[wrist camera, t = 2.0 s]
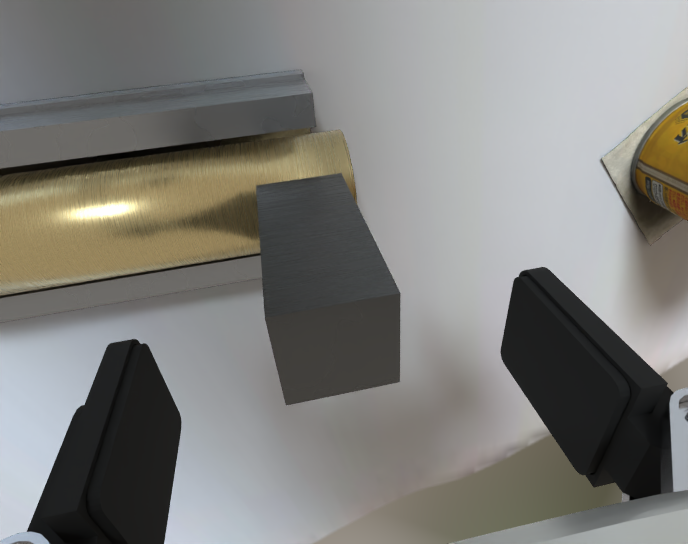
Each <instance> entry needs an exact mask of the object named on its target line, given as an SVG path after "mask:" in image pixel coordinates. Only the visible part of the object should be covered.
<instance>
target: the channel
mask: <svg viewBox="0 0 688 544" xmlns="http://www.w3.org/2000/svg"><path fill="white" fill-rule="evenodd" d="M310 127H316V122H315V113H314V104H313V95H312V92H311V90H310V88H309V86H308V85H307V83H306V81H305V79H304V73H303V72H302V70H293V71H285V72H276V73H268V74H259V75H250V76H242V77H233V78H225V79H216V80H207V81H199V82H190V83H182V84H173V85H165V86H156V87H147V88H139V89H130V90H122V91H113V92H104V93H96V94H87V95H79V96H70V97H61V98H53V99H44V100H36V101H27V102H18V103H10V104H1V105H0V175H6V174H13V173H20V172H28V171H35V170H43V169H50V168H58V167H65V166H73V165H80V164H88V163H95V162H103V161H110V160H118V159H125V158H132V157H140V156H147V155H155V154H162V153H170V152H177V151H185V150H192V149H200V148H207V147H215V146H222V145H230V144H237V143H244V142H252V141H259V140H267V139H274V138H282V137H289V136H297V135H304V134H311V133H310ZM259 278H262V267H261V253H256V254H250V255H244V256H238V257H232V258H226V259H220V260H214V261H208V262H202V263H195V264H189V265H183V266H177V267H171V268H165V269H159V270H153V271H147V272H141V273H135V274H128V275H122V276H116V277H110V278H104V279H98V280H92V281H86V282H80V283H74V284H67V285H61V286H55V287H49V288H43V289H37V290H31V291H25V292H19V293H13V294H7V295H0V323H2V322H8V321H14V320H19V319H25V318H31V317H37V316H43V315H49V314H55V313H60V312H66V311H72V310H78V309H84V308H90V307H96V306H101V305H107V304H113V303H119V302H125V301H131V300H137V299H142V298H148V297H154V296H160V295H166V294H172V293H177V292H183V291H189V290H195V289H201V288H207V287H213V286H218V285H224V284H230V283H236V282H242V281H248V280H254V279H259Z"/></svg>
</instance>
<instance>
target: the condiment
mask: <svg viewBox="0 0 688 544" xmlns="http://www.w3.org/2000/svg"><path fill="white" fill-rule="evenodd" d="M602 160H603V162H604V164H605V166H606V168H607V169H608V171H609V173H610V175H611V177H612V179H613V181H614V183H615V184H616V186H617V189H618V190H619V192H620V194H621V195H622V197H623V199H624V201H625V203H626V204H627V206H628V208H629V209H630V211H631V212H632V214H633V215H634V218H635V220H636V222H637V224H638V226H639V228H640V229H641V231H642V232H643V234H644V235H645V237H646V239H647V241H648V243H649V245H650V246H651V245H652V244H653V243H654V242H655V241H657V240H658V239H660V238H661V236H662V235H663V234H664V233H666V232H667V231H669V230H670V229H671V228H672V227H674V226H675V225H676V224H678V223H679V222H680V221H682V220H683V219H685V220H687V221H688V87H687V88H685V89H684V90H683V91H682V92H681V93H680V94H678V95H677V96H676V97H674V98H673V99H672V100H670V101H669V102H668V103H667V104H666V105H664V106H663V107H662V108H661V109H660V110H659V111H658V112H656V113H655V114H654V115H652V116H651V118H649V119H648V120H646V121H645V122H644V123H643V124H642V125H641V126H639V127H638V128H637V129H636V130H635V131H634V132H633V133H631V134H630V135H629V137H628V138H627V139H625V140H624V141H623V142H621V143H620V144H619V145H618V146H617V147H616V148H614V149H613V150H612V151H611V152H609V153H608V154H607V155H605V156H604V157H603V158H602ZM650 200H651V202H650Z"/></svg>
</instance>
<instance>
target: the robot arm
mask: <svg viewBox="0 0 688 544" xmlns="http://www.w3.org/2000/svg"><path fill="white" fill-rule="evenodd" d="M501 357H502V360H503V362H504V364H505V366H506V367H507V369H508V370H509V372H510V373H511V375H512V376H513V378H514V379H515V381H516V382H517V383H518V385H519V386H520V388H521V389H522V391H523V392H524V394H525V395H526V397H527V398H528V400H529V401H530V403H531V404H532V406H533V407H534V409H535V410H536V412H537V413H538V415H539V416H540V418H541V419H542V421H543V422H544V424H545V425H546V427H547V428H548V430H549V431H550V433H551V434H552V436H553V437H554V439H555V440H556V442H557V443H558V444H559V446H560V448H561V449H562V450H563V452H564V453H565V455H566V456H567V458H568V459H569V461H570V462H571V464H572V465H573V467H574V468H575V470H576V471H577V472H578V473H579V474H581V475H586V477H587V478H588V480H589V481H590V483H591V484H592V486H593V487H597V486H602V485H606V484H610V483H614V482H615V483H616V484H617V485H618V487H619V488H620V489H621V491H622V492H623V496H622V503H617V504H613V505H608V506H603V507H599V508H594V509H590V510H586V511H581V512H577V513H573V514H569V515H565V516H560V517H557V518H552V519H548V520H544V521H540V522H536V523H532V524H527V525H523V526H519V527H515V528H510V529H506V530H502V531H498V532H494V533H490V534H485V535H481V536H477V537H473V538H469V539H465V540H461V541H457V542H453V543H449V544H688V388H684V389H680V390H677V391H676V392H675V393H673V392H672V391H671V390H670V389H669V388H668V387H667V384H668V383H667V382H666V381H665V380H664V379H663V378H662V377H661V376H660V375H659V374H658V373H656V372H655V371H654V370H653V369H652V368H651V367H650V366H649V365H648V364H647V363H646V362H645V361H644V360H643V359H642V358H641V357H640V356H639V355H638V354H637V353H636V352H634V351H633V350H632V349H631V348H630V347H629V346H628V345H627V344H626V343H625V342H624V341H623V340H622V339H621V338H620V337H619V336H618V335H617V334H616V333H615V332H614V331H613V330H611V329H610V328H609V327H608V326H607V325H606V324H605V323H604V322H603V321H602V320H601V319H600V318H599V317H598V316H597V315H596V314H595V313H594V312H593V311H592V310H591V309H589V308H588V307H587V306H586V305H585V304H584V303H583V302H582V301H581V300H580V299H579V298H578V297H577V296H576V295H575V294H574V293H573V292H572V291H571V290H570V289H569V288H568V287H566V286H565V285H564V284H563V283H562V282H561V281H560V280H559V279H558V278H557V277H556V276H555V275H554V274H553V273H552V272H551V271H550V270H549V269H547V268H545V267H541V268H535V269H530V270H524V271H522V272H521V273H520V274H519V277H517V278H515V279H514V282H513V288H512V293H511V298H510V303H509V309H508V314H507V319H506V325H505V330H504V335H503V341H502V346H501ZM180 433H181V417H180V413H179V411H178V409H177V407H176V405H175V402H174V400H173V398H172V396H171V394H170V392H169V390H168V387H167V385H166V383H165V381H164V379H163V377H162V375H161V372H160V370H159V368H158V366H157V364H156V362H155V360H154V357H153V355H152V353H151V351H150V349H149V347H148V345H147V344H140V343H139V341H138V340H136V339H132V340H127V341H121V342H115V343H110V344H109V345H108V347H107V348H106V351H105V353H104V356H103V359H102V361H101V364H100V366H99V369H98V372H97V374H96V377H95V379H94V382H93V385H92V387H91V390H90V392H89V395H88V398H87V400H86V403H85V405H83V406H80V407H79V408H78V409H77V410H76V412H75V414H74V416H73V418H72V421H71V423H70V426H69V428H68V431H67V433H66V436H65V438H64V441H63V443H62V446H61V448H60V450H59V453H58V455H57V458H56V460H55V463H54V465H53V468H52V470H51V473H50V475H49V478H48V480H47V483H46V485H45V488H44V490H43V493H42V495H41V498H40V500H39V503H38V505H37V508H36V510H35V513H34V515H33V518H32V520H31V523H30V525H29V528H28V530H27V532H23V533H17V534H15V535H12V536H10V537H7V538H5V539H3V540H1V541H0V544H164V540H165V533H166V527H167V520H168V513H169V507H170V500H171V493H172V486H173V480H174V473H175V466H176V460H177V453H178V446H179V440H180Z"/></svg>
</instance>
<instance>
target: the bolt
mask: <svg viewBox="0 0 688 544" xmlns="http://www.w3.org/2000/svg"><path fill="white" fill-rule="evenodd" d="M256 253H261V267H262V282H263V297H264V312H265V320H266V324H267V329H268V333H269V337H270V341H271V345H272V349H273V353H274V358H275V362H276V366H277V370H278V374H279V378H280V382H281V387H282V391H283V395H284V399H285V403H286V405H291V404H295V403H300V402H305V401H310V400H315V399H320V398H324V397H329V396H334V395H339V394H344V393H349V392H354V391H358V390H363V389H368V388H373V387H378V386H383V385H387V384H392V383H397V382H400V292H399V289H398V287H397V285H396V283H395V281H394V279H393V277H392V275H391V273H390V271H389V269H388V267H387V265H386V263H385V261H384V259H383V257H382V255H381V253H380V251H379V249H378V247H377V245H376V243H375V241H374V239H373V237H372V234H371V232H370V230H369V228H368V226H367V224H366V222H365V220H364V218H363V216H362V214H361V212H360V210H359V208H358V206H357V198H356V189H355V182H354V175H353V169H352V164H351V159H350V155H349V151H348V147H347V143H346V140H345V138H344V135H343V133H342V132H341V130H334V131H327V132H319V133H312V134H304V135H297V136H289V137H282V138H274V139H267V140H259V141H252V142H244V143H237V144H230V145H222V146H215V147H207V148H200V149H192V150H185V151H177V152H170V153H162V154H155V155H147V156H140V157H132V158H125V159H118V160H110V161H103V162H95V163H88V164H80V165H73V166H65V167H58V168H50V169H43V170H35V171H28V172H20V173H13V174H6V175H0V295H7V294H13V293H19V292H25V291H31V290H37V289H43V288H49V287H55V286H61V285H67V284H74V283H80V282H86V281H92V280H98V279H104V278H110V277H116V276H122V275H128V274H135V273H141V272H147V271H153V270H159V269H165V268H171V267H177V266H183V265H189V264H195V263H202V262H208V261H214V260H220V259H226V258H232V257H238V256H244V255H250V254H256Z"/></svg>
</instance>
